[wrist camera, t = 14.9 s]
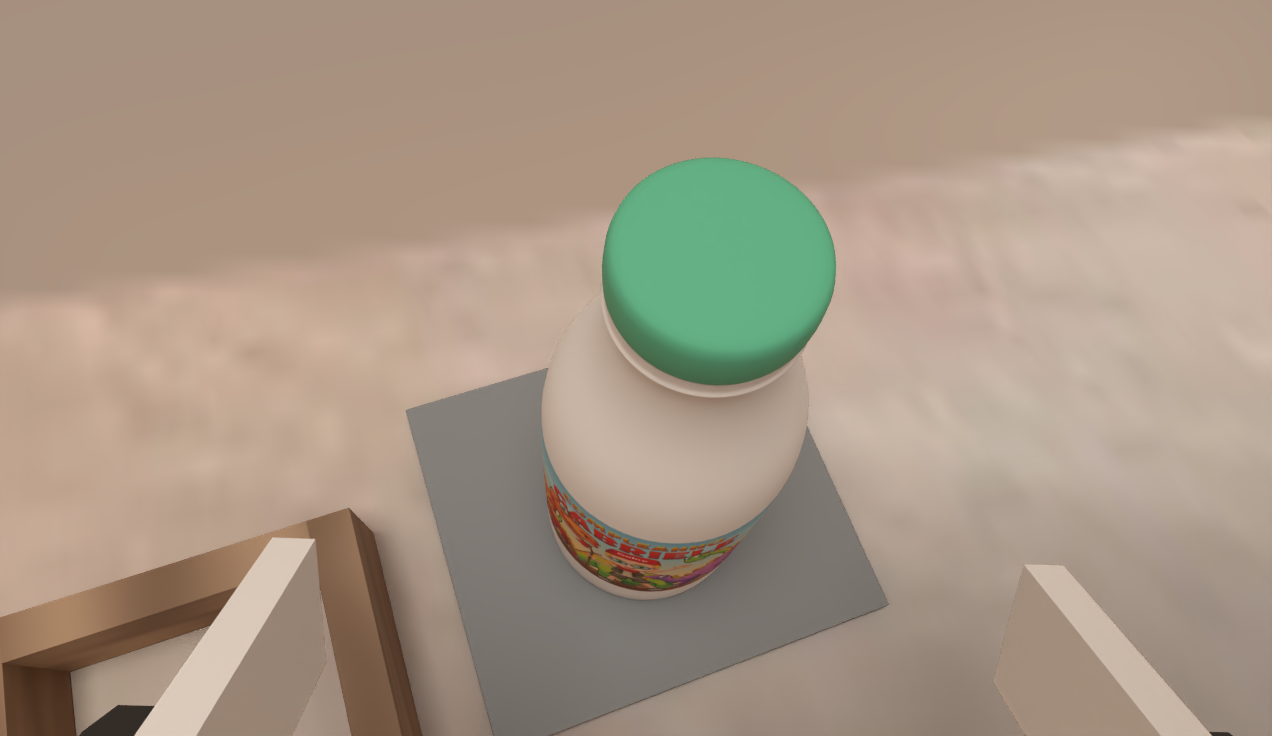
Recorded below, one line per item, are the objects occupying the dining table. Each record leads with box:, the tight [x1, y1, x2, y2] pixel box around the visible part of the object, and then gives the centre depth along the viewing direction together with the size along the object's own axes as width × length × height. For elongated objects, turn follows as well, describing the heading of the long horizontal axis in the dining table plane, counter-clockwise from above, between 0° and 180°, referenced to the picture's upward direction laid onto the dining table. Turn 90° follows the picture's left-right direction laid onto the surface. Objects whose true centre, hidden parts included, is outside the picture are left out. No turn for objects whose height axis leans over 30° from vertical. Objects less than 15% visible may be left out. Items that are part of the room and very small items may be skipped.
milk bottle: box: [541, 158, 836, 600], centre depth 25 cm, size 8×8×20 cm
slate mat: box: [406, 368, 889, 736], centre depth 35 cm, size 16×14×1 cm
